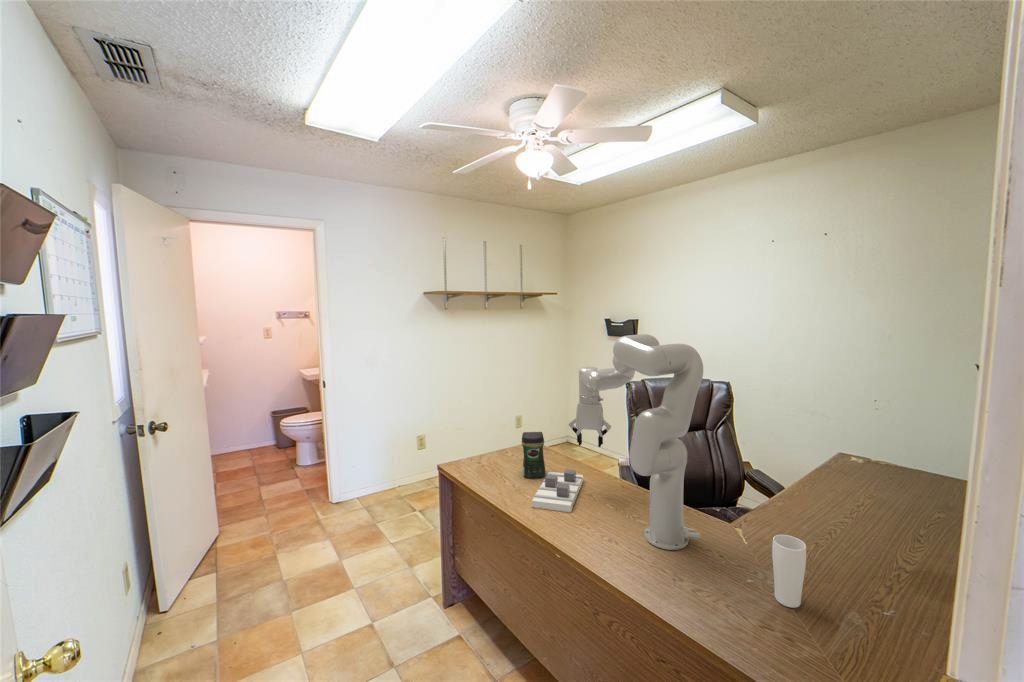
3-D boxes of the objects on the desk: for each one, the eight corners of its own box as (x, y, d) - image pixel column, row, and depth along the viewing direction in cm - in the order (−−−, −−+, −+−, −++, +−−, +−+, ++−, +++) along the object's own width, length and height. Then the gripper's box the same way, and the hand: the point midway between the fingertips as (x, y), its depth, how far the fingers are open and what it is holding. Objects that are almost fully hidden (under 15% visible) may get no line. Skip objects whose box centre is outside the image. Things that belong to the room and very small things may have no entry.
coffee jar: (545, 470, 183) (544, 429, 181) (545, 478, 175) (544, 435, 173) (522, 471, 183) (521, 429, 181) (522, 479, 175) (520, 435, 173)
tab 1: (557, 483, 163) (557, 475, 163) (555, 487, 160) (555, 479, 159) (547, 482, 164) (547, 474, 164) (545, 486, 161) (544, 478, 161)
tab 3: (576, 478, 167) (575, 470, 167) (574, 482, 164) (574, 473, 163) (566, 477, 168) (565, 469, 168) (564, 481, 165) (564, 472, 165)
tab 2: (569, 493, 155) (569, 484, 155) (567, 497, 152) (567, 488, 151) (558, 491, 156) (558, 483, 156) (556, 496, 153) (556, 487, 153)
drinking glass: (791, 590, 105) (793, 533, 104) (811, 610, 98) (813, 549, 97) (764, 592, 105) (766, 534, 103) (783, 612, 98) (784, 551, 97)
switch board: (583, 481, 171) (583, 473, 171) (570, 512, 147) (570, 503, 146) (549, 477, 176) (549, 470, 175) (532, 507, 151) (531, 498, 151)
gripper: (613, 398, 161) (614, 443, 163) (568, 396, 167) (569, 440, 168) (611, 403, 154) (612, 450, 156) (564, 400, 160) (565, 446, 161)
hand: (589, 444), depth 162 cm, fingers open, 6 cm apart
